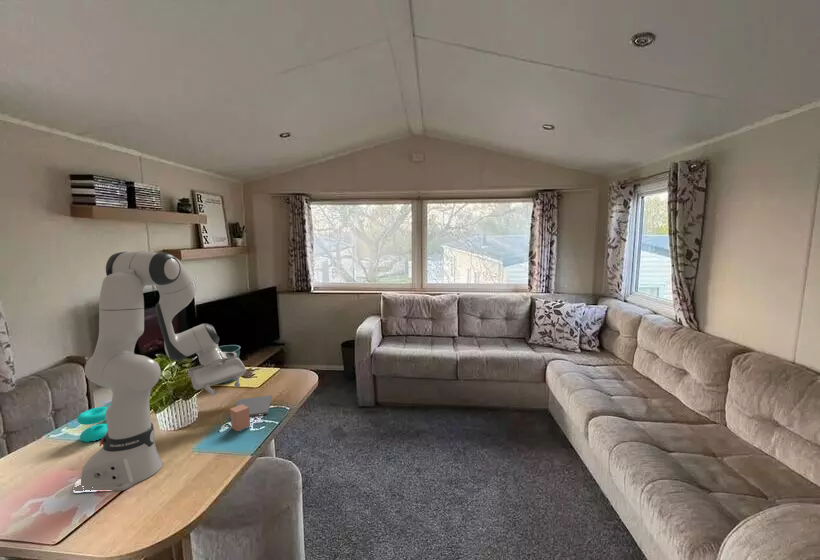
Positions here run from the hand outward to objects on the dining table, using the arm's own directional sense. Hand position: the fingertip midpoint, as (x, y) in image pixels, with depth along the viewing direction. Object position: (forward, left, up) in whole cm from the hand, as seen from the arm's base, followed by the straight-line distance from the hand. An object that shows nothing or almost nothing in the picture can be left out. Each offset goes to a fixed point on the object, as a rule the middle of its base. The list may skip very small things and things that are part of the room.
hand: (226, 390), depth 154 cm
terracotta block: (+6, -8, -13) cm, 16 cm away
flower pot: (-10, +48, -13) cm, 51 cm away
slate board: (+8, +9, -13) cm, 17 cm away
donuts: (-46, +2, -13) cm, 48 cm away
